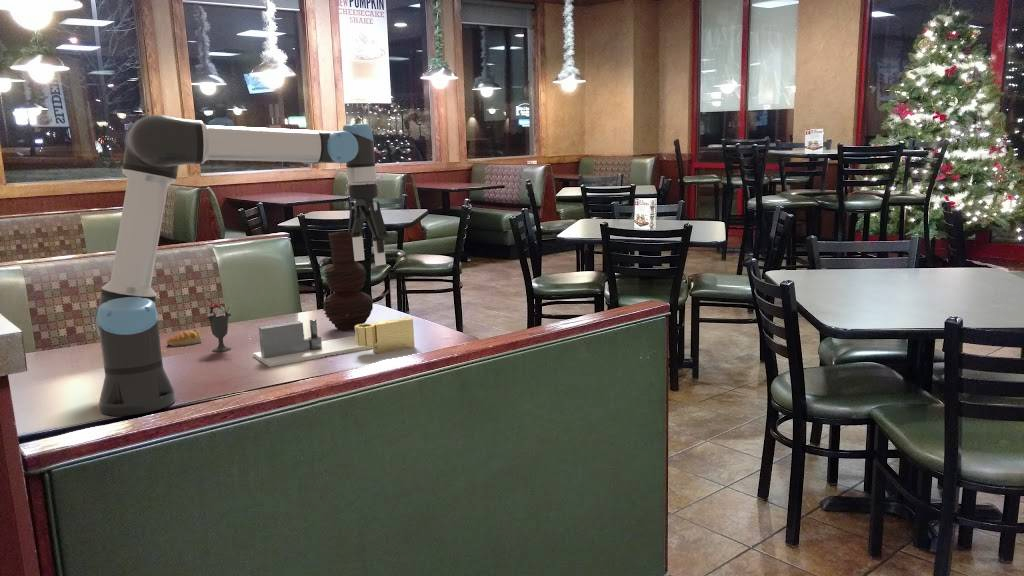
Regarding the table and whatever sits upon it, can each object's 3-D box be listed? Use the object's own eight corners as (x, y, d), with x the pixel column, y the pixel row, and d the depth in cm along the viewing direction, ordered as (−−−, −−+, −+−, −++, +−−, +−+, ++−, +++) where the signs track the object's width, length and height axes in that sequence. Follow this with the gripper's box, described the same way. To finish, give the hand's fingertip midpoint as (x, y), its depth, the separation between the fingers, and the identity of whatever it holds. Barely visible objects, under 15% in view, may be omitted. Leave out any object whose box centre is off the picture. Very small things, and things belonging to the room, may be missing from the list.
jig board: (269, 366, 204) (268, 363, 204) (253, 356, 215) (253, 352, 215) (376, 347, 220) (376, 344, 220) (356, 338, 232) (356, 335, 232)
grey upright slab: (265, 358, 208) (262, 329, 207) (261, 356, 211) (258, 327, 210) (323, 348, 217) (321, 320, 216) (319, 346, 220) (317, 318, 219)
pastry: (171, 348, 229) (169, 335, 228) (164, 345, 234) (162, 332, 234) (204, 342, 235) (202, 330, 234) (196, 339, 240) (195, 327, 239)
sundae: (203, 351, 223) (198, 299, 220) (222, 346, 229) (217, 295, 226) (220, 353, 220) (215, 300, 217) (239, 348, 226) (233, 296, 223)
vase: (322, 326, 251) (315, 232, 246) (371, 321, 256) (364, 229, 251) (326, 336, 237) (318, 236, 232) (377, 331, 241) (371, 233, 236)
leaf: (361, 357, 210) (359, 328, 209) (354, 354, 214) (352, 325, 213) (416, 347, 219) (414, 319, 217) (407, 344, 223) (406, 316, 222)
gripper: (396, 182, 201) (403, 265, 205) (356, 181, 221) (363, 256, 225) (369, 185, 197) (376, 269, 200) (331, 184, 217) (338, 260, 221)
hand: (369, 262), depth 213 cm, fingers open, 13 cm apart
